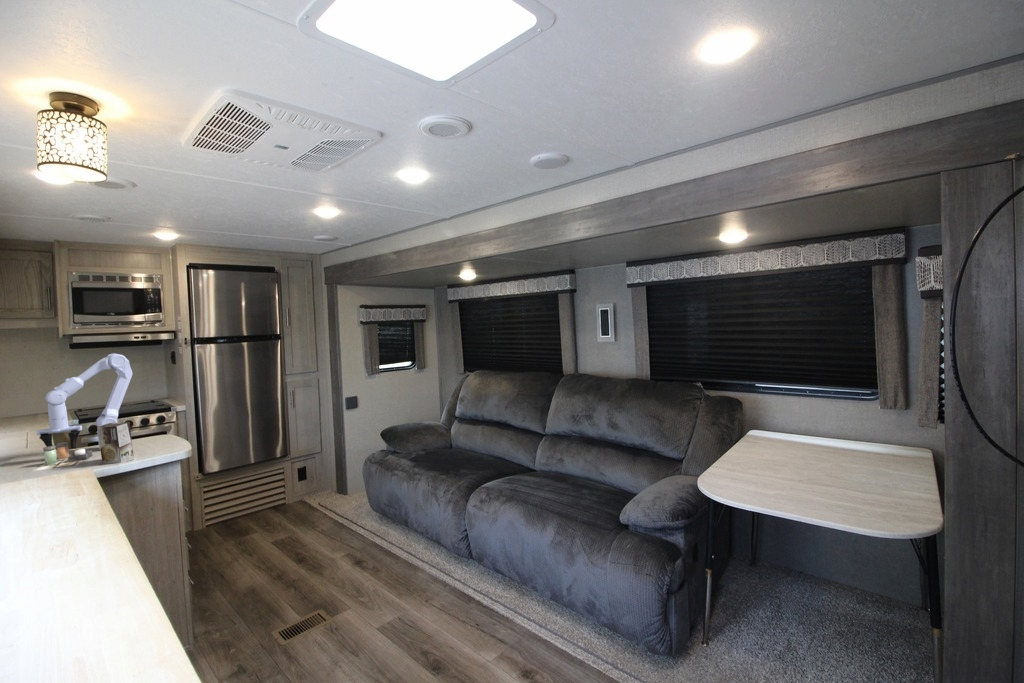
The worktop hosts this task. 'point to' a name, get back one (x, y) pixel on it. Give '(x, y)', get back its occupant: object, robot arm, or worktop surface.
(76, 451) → the button
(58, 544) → the worktop surface
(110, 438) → the coffee box
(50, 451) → the green jar
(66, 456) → the orange jar
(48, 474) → the worktop surface
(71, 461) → the picture board
